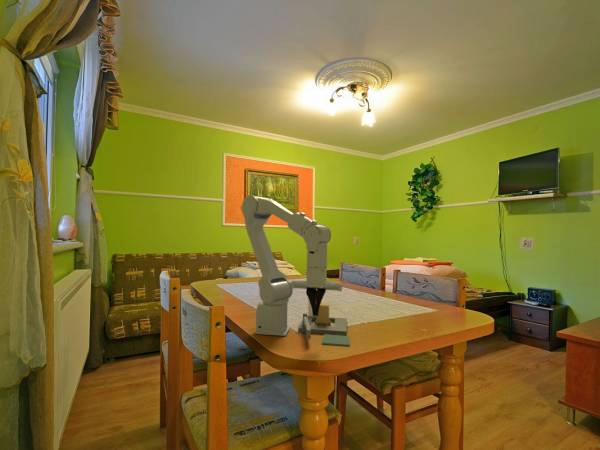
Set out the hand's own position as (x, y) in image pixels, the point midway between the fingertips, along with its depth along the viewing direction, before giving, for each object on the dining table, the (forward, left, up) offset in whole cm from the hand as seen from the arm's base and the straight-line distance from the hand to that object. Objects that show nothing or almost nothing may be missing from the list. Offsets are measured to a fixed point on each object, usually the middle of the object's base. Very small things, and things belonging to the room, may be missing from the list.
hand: (315, 315), depth 82 cm
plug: (+1, +17, -8) cm, 18 cm away
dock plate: (+2, +15, -8) cm, 17 cm away
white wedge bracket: (-2, +26, -8) cm, 27 cm away
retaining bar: (-3, +5, -6) cm, 9 cm away
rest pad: (+6, +3, -8) cm, 10 cm away
